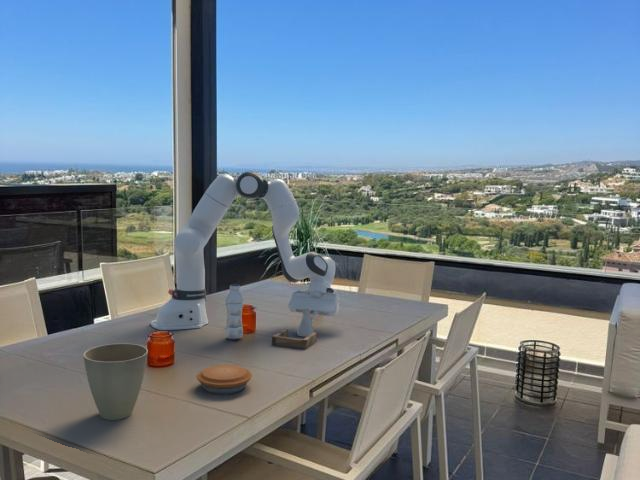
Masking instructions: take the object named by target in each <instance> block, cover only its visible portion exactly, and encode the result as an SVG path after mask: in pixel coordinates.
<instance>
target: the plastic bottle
mask: <svg viewBox="0 0 640 480" xmlns="http://www.w3.org/2000/svg"><path fill="white" fill-rule="evenodd" d="M240 291H241V285H240V284H230V285H229V293H228V294H227V295H226V297H225V306H226V324H225V325H226V326H225V332H224V334H225V335H224V336H225V337H226V338H227V339H229V340H239V339H242V338H243V336H244V329H243V320H242V319H243V317H242V314H243V305H244V297H243V295H242V294H241V293H240Z"/></svg>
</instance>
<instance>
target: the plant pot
mask: <svg viewBox="0 0 640 480" xmlns="http://www.w3.org/2000/svg"><path fill="white" fill-rule="evenodd" d="M148 353H149V350H148V348H147V347H146V346H144V345H141V344H135V343H126V342H124V343H123V342H121V343H108V344H102V345H98V346H95V347H91V348H89V349H87V350H85V351H84V352H83V363H84V367H85V373H86V377H87V381H88V385H89V388H90V389H89V390H90V391H91V395H92V399H93V401H94V404H95V406H96V408H97V411H98V413H99V417H101V419H104V420H108V421H118V420H123V419H126V418H129V416H131V415H132V414H133V411H134V409H135V407H136V403H137V402H138V401H137V400H138V397H139V394H140V391H141V388H142V384H143V382H144V381H143V380H144V376H145V372H146V367H147V359H148Z"/></svg>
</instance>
